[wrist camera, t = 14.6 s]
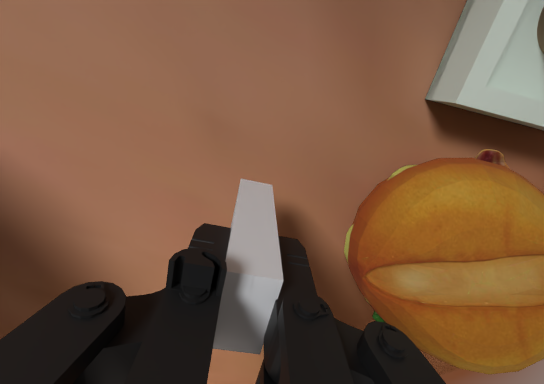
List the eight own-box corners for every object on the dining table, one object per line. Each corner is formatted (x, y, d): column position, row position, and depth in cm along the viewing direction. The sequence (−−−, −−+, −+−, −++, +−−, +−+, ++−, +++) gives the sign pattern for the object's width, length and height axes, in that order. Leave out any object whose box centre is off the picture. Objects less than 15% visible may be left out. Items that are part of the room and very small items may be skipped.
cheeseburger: (399, 312, 21) (473, 470, 11) (303, 213, 20) (295, 293, 10) (524, 230, 18) (761, 346, 9) (419, 112, 17) (551, 96, 8)
